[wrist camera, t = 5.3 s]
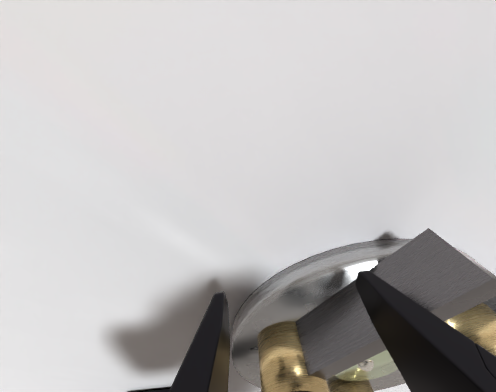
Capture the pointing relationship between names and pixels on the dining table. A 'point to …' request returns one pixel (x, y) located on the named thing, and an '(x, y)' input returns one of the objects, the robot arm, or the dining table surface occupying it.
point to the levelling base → (310, 296)
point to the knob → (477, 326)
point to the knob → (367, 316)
